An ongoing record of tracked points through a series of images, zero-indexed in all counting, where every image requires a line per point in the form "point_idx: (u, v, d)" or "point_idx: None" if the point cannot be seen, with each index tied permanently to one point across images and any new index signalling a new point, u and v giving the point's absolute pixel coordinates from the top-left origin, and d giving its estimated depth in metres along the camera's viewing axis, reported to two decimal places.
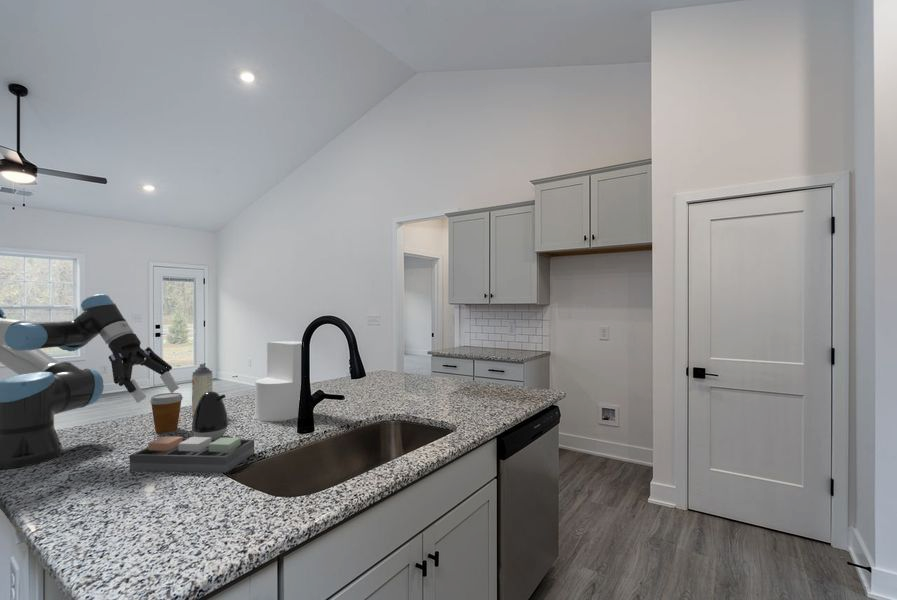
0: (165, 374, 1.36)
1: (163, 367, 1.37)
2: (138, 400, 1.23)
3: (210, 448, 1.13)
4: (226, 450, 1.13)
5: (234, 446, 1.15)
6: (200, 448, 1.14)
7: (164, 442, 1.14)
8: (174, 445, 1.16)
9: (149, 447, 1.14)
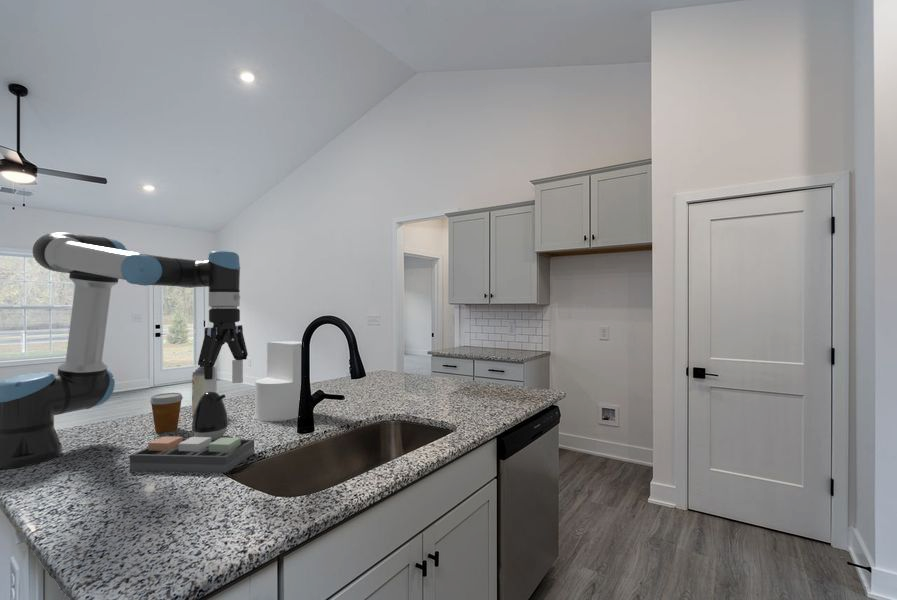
0: (238, 362, 1.22)
1: (241, 353, 1.22)
2: (207, 390, 1.09)
3: (210, 448, 1.13)
4: (226, 450, 1.13)
5: (234, 446, 1.15)
6: (200, 448, 1.14)
7: (164, 442, 1.14)
8: (174, 445, 1.16)
9: (149, 447, 1.14)
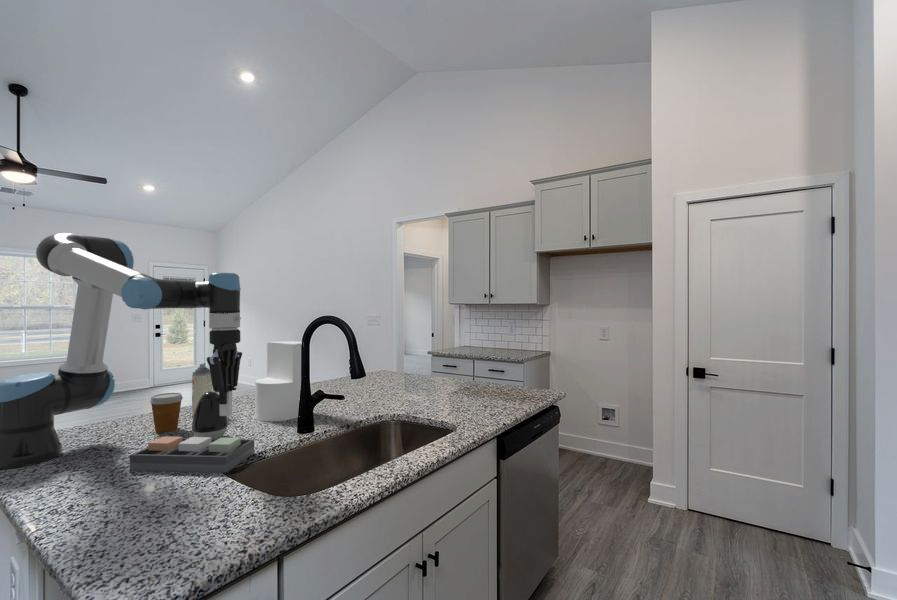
0: None
1: (232, 382, 1.17)
2: (222, 414, 1.15)
3: (210, 448, 1.13)
4: (226, 450, 1.13)
5: (234, 446, 1.15)
6: (200, 448, 1.14)
7: (164, 442, 1.14)
8: (174, 445, 1.16)
9: (149, 447, 1.14)
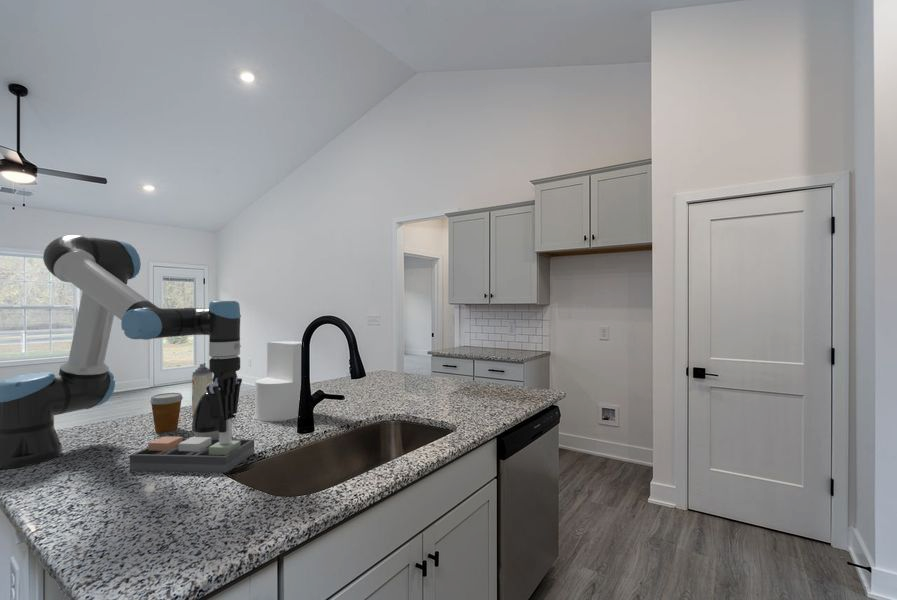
0: None
1: (232, 410, 1.17)
2: (221, 442, 1.15)
3: (210, 451, 1.13)
4: (226, 453, 1.13)
5: (234, 449, 1.15)
6: (200, 448, 1.14)
7: (164, 442, 1.14)
8: (174, 445, 1.16)
9: (149, 447, 1.14)
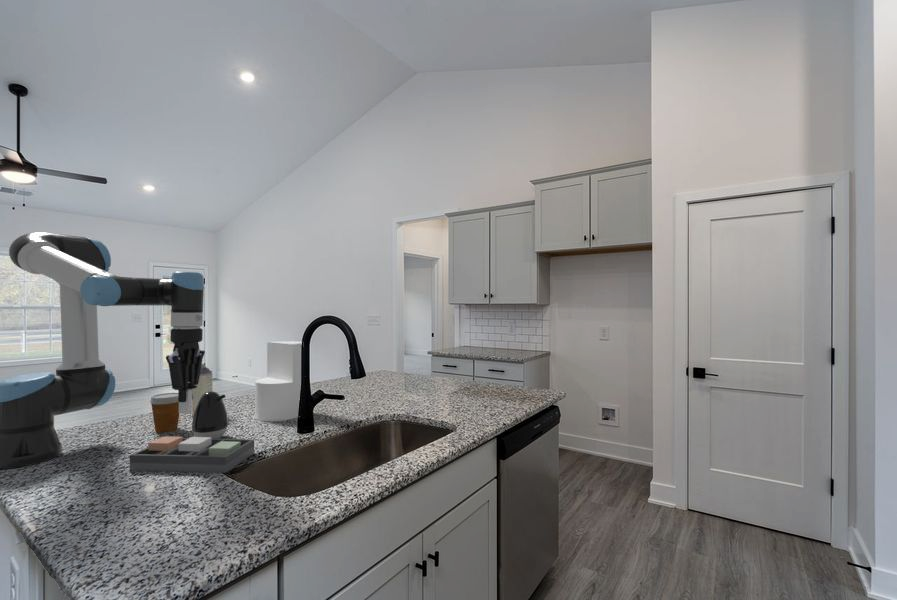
0: None
1: (192, 380, 1.18)
2: (181, 412, 1.16)
3: (210, 452, 1.13)
4: (226, 454, 1.13)
5: None
6: (200, 448, 1.14)
7: (164, 442, 1.14)
8: (174, 445, 1.16)
9: (149, 447, 1.14)
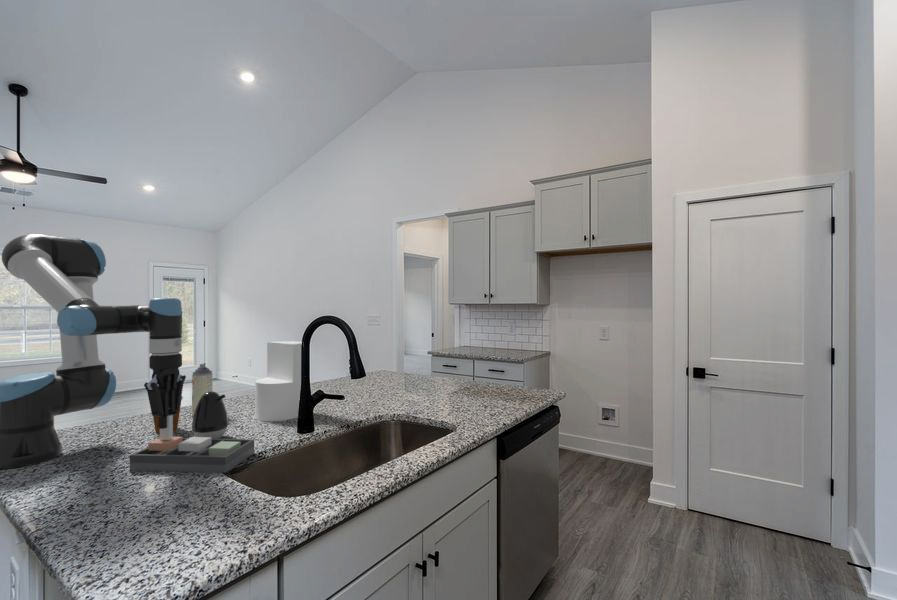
0: None
1: (173, 406, 1.18)
2: (162, 438, 1.16)
3: (210, 452, 1.13)
4: (226, 454, 1.13)
5: None
6: (200, 448, 1.14)
7: (164, 442, 1.14)
8: (174, 445, 1.16)
9: (149, 447, 1.14)
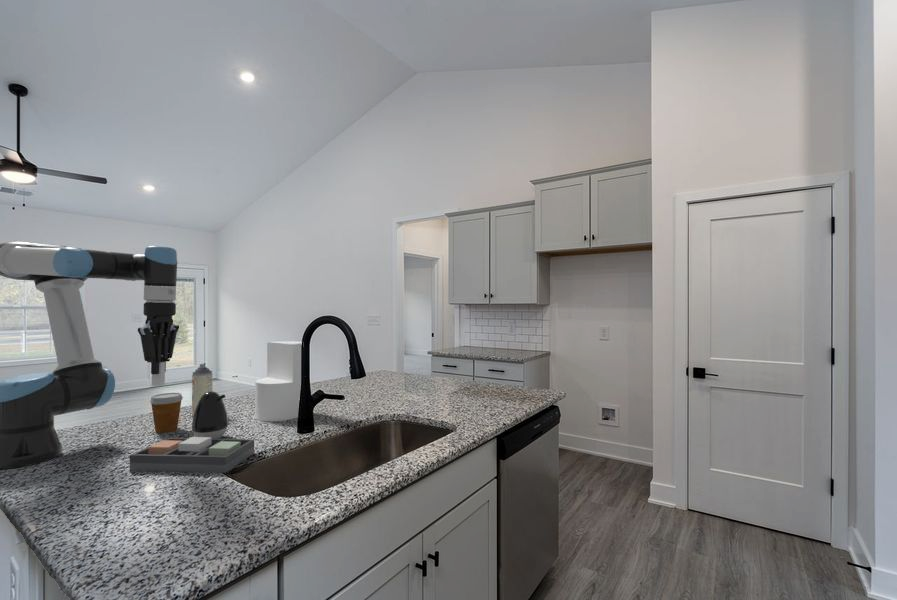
0: None
1: (166, 354, 1.20)
2: (154, 384, 1.18)
3: (210, 452, 1.13)
4: (226, 454, 1.13)
5: None
6: (200, 448, 1.14)
7: (164, 446, 1.14)
8: None
9: (149, 451, 1.14)
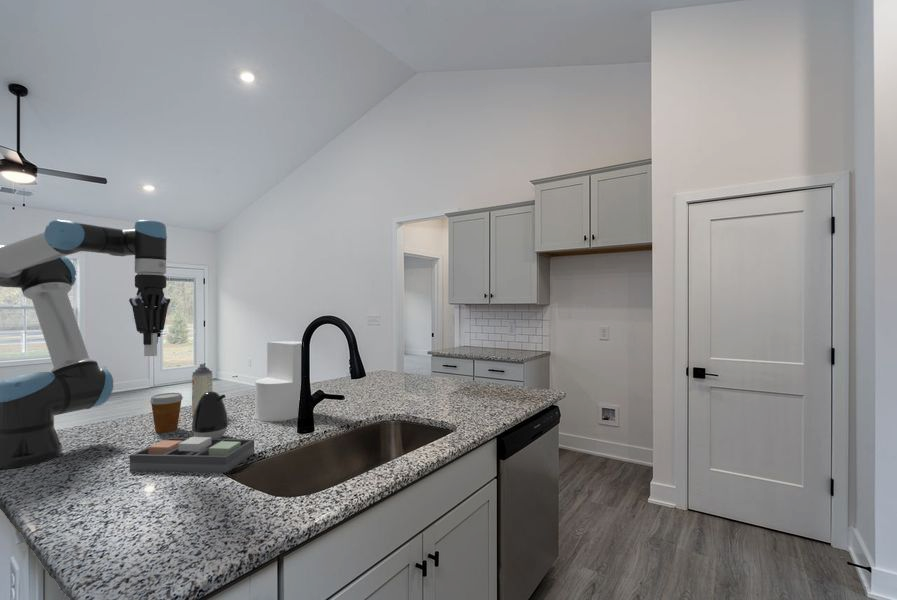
0: None
1: (157, 325, 1.24)
2: (146, 354, 1.22)
3: (210, 452, 1.13)
4: (226, 454, 1.13)
5: None
6: (200, 448, 1.14)
7: (164, 446, 1.14)
8: None
9: (149, 451, 1.14)
